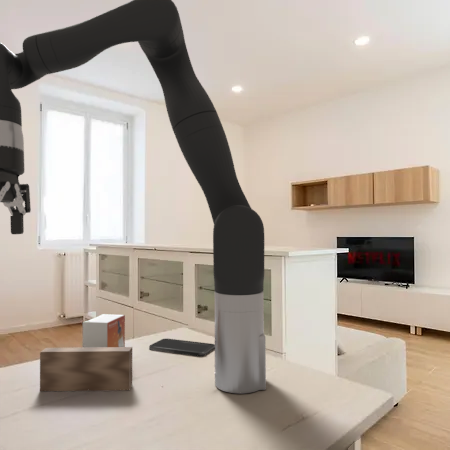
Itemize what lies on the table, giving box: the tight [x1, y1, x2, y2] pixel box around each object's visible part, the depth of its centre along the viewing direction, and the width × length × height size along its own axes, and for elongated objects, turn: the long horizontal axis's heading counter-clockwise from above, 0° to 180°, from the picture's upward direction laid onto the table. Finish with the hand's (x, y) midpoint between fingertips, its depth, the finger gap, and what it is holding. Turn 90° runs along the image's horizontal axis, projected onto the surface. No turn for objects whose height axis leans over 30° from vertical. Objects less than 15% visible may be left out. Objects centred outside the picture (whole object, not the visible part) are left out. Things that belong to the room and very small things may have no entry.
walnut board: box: [39, 346, 133, 392], centre depth 68 cm, size 16×2×7 cm, turn 91°
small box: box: [82, 313, 126, 347], centre depth 78 cm, size 8×6×10 cm
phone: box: [148, 338, 215, 357], centre depth 91 cm, size 8×1×15 cm
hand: (3, 233), depth 70 cm, fingers open, 8 cm apart
